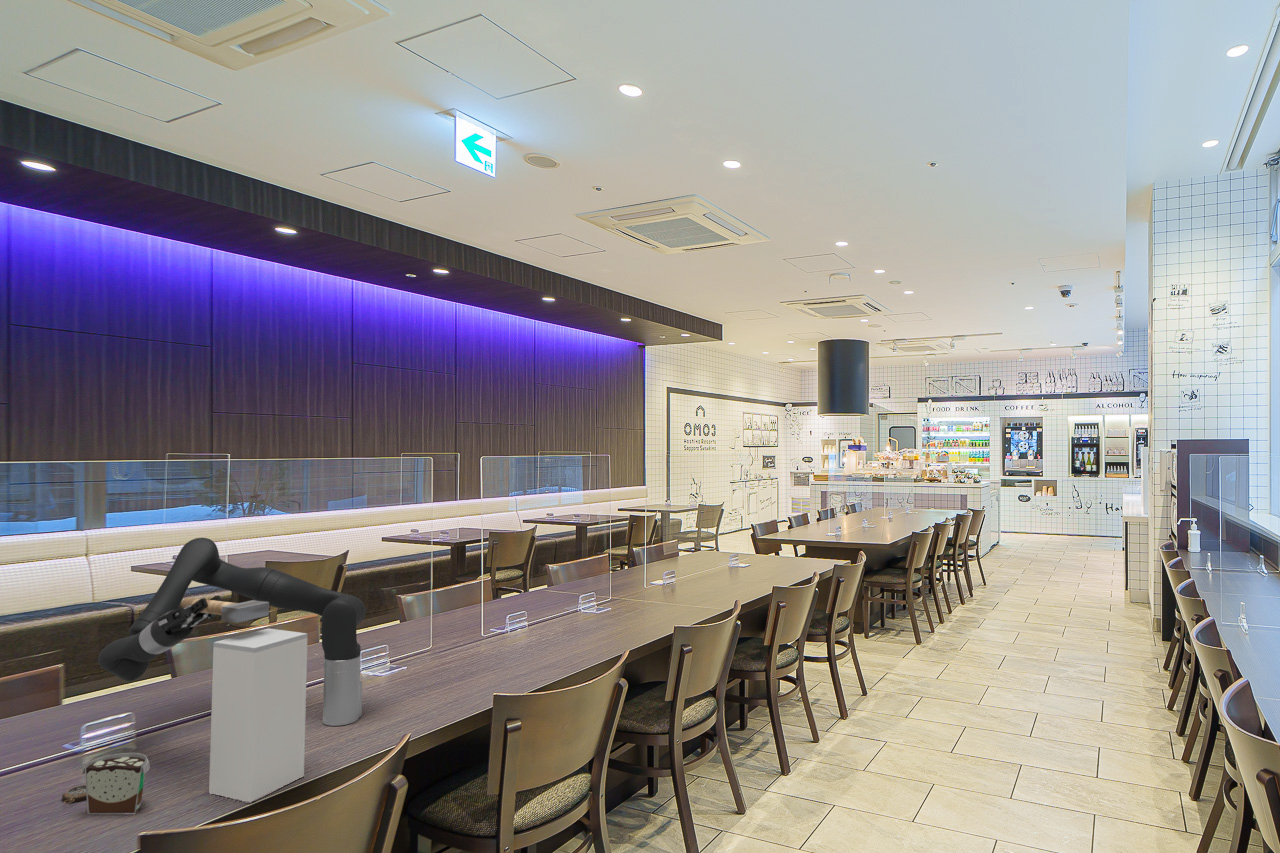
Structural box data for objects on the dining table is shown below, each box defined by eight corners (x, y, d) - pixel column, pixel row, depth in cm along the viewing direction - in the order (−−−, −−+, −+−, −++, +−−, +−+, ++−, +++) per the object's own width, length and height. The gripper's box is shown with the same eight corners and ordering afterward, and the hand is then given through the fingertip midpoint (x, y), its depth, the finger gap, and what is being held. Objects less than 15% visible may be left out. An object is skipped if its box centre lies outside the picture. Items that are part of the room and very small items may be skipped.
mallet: (170, 613, 168) (171, 600, 169) (203, 607, 176) (203, 594, 176) (237, 622, 161) (238, 608, 161) (268, 615, 168) (269, 602, 168)
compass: (72, 791, 159) (73, 756, 159) (112, 788, 160) (114, 754, 160) (48, 808, 151) (50, 772, 151) (91, 806, 152) (93, 770, 153)
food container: (161, 800, 155) (163, 751, 155) (142, 814, 149) (144, 763, 149) (101, 800, 155) (103, 751, 155) (80, 814, 148) (82, 764, 149)
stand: (264, 768, 171) (268, 628, 172) (303, 777, 166) (307, 633, 168) (208, 794, 158) (213, 642, 159) (250, 804, 153) (254, 648, 155)
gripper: (131, 623, 169) (178, 590, 164) (188, 611, 182) (234, 580, 177) (141, 654, 167) (189, 621, 162) (198, 640, 180) (244, 609, 175)
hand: (212, 600), depth 169 cm, fingers closed on mallet, 3 cm apart
